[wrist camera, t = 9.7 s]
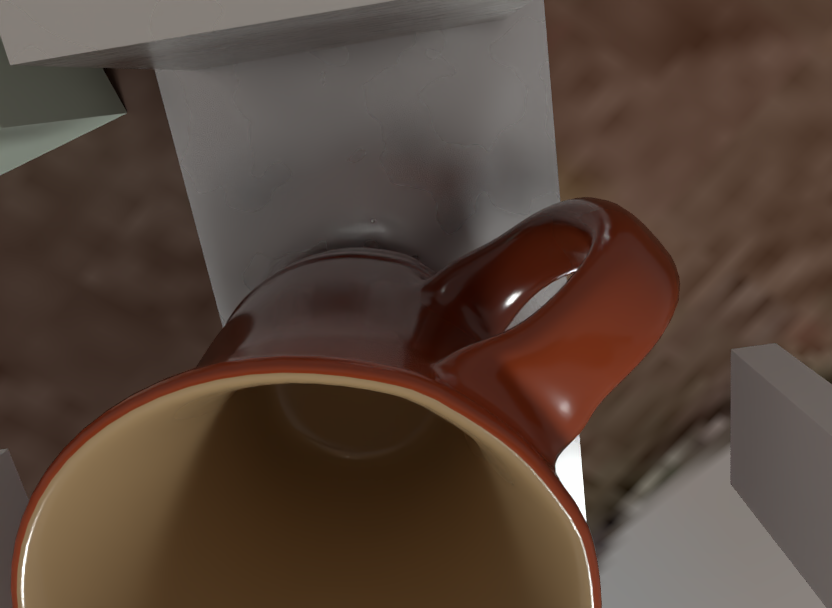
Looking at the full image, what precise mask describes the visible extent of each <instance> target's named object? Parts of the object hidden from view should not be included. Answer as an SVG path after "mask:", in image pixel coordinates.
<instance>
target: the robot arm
mask: <svg viewBox="0 0 832 608" xmlns="http://www.w3.org/2000/svg"><path fill="white" fill-rule="evenodd" d="M731 485H732V486H733V487H734V489H735V490H736V491H737V492H738V494H739V495H740V496H741V498H742V499H743V500H744V502H745V503H746V504H747V506H748V507H749V508H750V509H751V511H752V512H753V513H754V515H755V516H756V517H757V518H758V520H759V521H760V522H761V524H762V525H763V526H764V527H765V529H766V530H767V531H768V533H769V534H770V535H771V536H772V538H773V539H774V540H775V542H776V543H777V544H778V546H779V547H780V548H781V549H782V551H783V552H784V553H785V554H786V556H787V557H788V558H789V560H790V561H791V562H792V564H793V565H794V566H795V567H796V569H797V570H798V571H799V573H800V574H801V575H802V576H803V578H804V579H805V580H806V582H807V583H808V584H809V586H810V587H811V588H812V589H813V591H814V592H815V593H816V595H817V596H818V597H819V598H820V599H821V601H822V602H823V604H824V605H825V606H826V607H827V608H832V384H830V383H829V382H828V381H826V380H825V379H824V378H822V377H821V376H820V375H818V374H817V373H815V372H814V371H813V370H811V369H810V368H809V367H807V366H806V365H805V364H803V363H802V362H801V361H799V360H798V359H796V358H795V357H794V356H792V355H791V354H790V353H788V352H787V351H786V350H784V349H783V348H782V347H780V346H779V345H777V344H776V343H773V344H766V345H759V346H751V347H744V348H737V349H731ZM28 502H29V500H28V497H27V495H26V492H25V490H24V487H23V485H22V482H21V480H20V477H19V475H18V472H17V470H16V467H15V465H14V462H13V460H12V458H11V455H10V453H9V450H8V449H2V450H0V608H12V599H11V588H10V582H11V561H12V555H13V549H14V543H15V538H16V535H17V531H18V528H19V525H20V521H21V518H22V515H23V513H24V511H25V509H26V506H27V504H28Z"/></svg>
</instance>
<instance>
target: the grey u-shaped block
mask: <svg viewBox="0 0 832 608" xmlns="http://www.w3.org/2000/svg"><path fill="white" fill-rule="evenodd" d="M0 36H1V39H2V42H3V45H4V48H5V51H6V54H7V57H8V60H9V63H10V65H21V66H56V67H90V68H124V69H155V73H156V77H157V81H158V84H159V88H160V92H161V96H162V100H163V103H164V107H165V111H166V115H167V118H168V122H169V126H170V130H171V133H172V137H173V141H174V145H175V149H176V152H177V156H178V160H179V164H180V167H181V171H182V175H183V179H184V182H185V186H186V190H187V194H188V198H189V201H190V205H191V209H192V213H193V216H194V220H195V224H196V228H197V231H198V235H199V239H200V243H201V247H202V250H203V254H204V258H205V262H206V265H207V269H208V273H209V277H210V280H211V284H212V288H213V292H214V296H215V299H216V303H217V307H218V311H219V314H220V318H221V322H222V326H223V327H224V326H225V324H226V322H227V320H228V319H229V317H230V316H231V314H232V313H233V311H234V310H235V308H236V307H237V306H238V304H239V303H240V302H241V301H242V300H243V298H244V297H245V296H246V295H247V294H248V293H249V292H251V291H252V290H253V289H254V288H255V287H256V286H257V285H259V284H260V283H261V282H262V281H264V280H265V279H267V278H268V277H270V276H271V275H273V274H274V273H276V272H278V271H280V270H281V269H283V268H285V267H286V266H288V265H290V264H292V263H294V262H296V261H298V260H300V259H303V258H306V257H308V256H311V255H314V254H318V253H322V252H325V251H329V250H334V249H340V248H351V247H367V248H378V249H385V250H391V251H396V252H400V253H404V254H407V255H409V256H411V257H413V258H416V259H417V260H419V261H420V262H422V263H424V264H425V265H427V266H428V267H430V268H431V269H433V270H434V271H436V272H438V271H439V270H441V269H442V268H443V267H445V266H446V265H447V264H449V263H450V262H452V261H454V260H455V259H457V258H459V257H461V256H463V255H465V254H467V253H469V252H471V251H473V250H475V249H477V248H479V247H481V246H482V245H484V244H486V243H488V242H490V241H492V240H493V239H495V238H497V237H498V236H500V235H501V234H503V233H505V232H506V231H508V230H509V229H511V228H512V227H514V226H515V225H517V224H518V223H520V222H521V221H523V220H524V219H526V218H527V217H529V216H531V215H532V214H534V213H536V212H538V211H540V210H542V209H544V208H546V207H548V206H551V205H553V204H556V203H559V202H560V194H559V182H558V169H557V157H556V145H555V133H554V120H553V108H552V96H551V84H550V71H549V59H548V47H547V35H546V22H545V10H544V0H0ZM566 282H567V279H566V276H565V277H562V278H560V279H558V280H556V281H555V282H553V283H551V284H549V285H548V286H546V287H545V288H543V289H542V290H541V291H539V292H538V293H537V294H536V295H535V296H534V297H533V298H532V299H531V300H530V301H529V302H528V303H527V304H526V305H525V306H524V307H523V309H522V310H521V311H520V312H519V314H518V315H517V316H516V318H515V319H514V320H513V322H512V323H511V324H510V326H509V327H508V328H507V330H508V329H510V328H512V327H514V326H516V325H517V324H519V323H520V322H522V321H524V320H525V319H526V318H528V317H529V316H530V315H532V314H533V313H535V312H536V311H537V310H538V309H539V308H540V307H542V306H543V305H544V304H545V303H546V302H547V301H548V300H549V299H550V298H551V297H553V296H554V295H555V294H556V293H557V292H558V291H559V289H560V288H561V287H562V286H563V285H564V284H565V283H566ZM555 468H556V474H557V475H558V477H559V479H560V481H561V483H562V484H563V485H564V487H565V488H566V489H567V491H568V492H569V494H570V495H571V496H572V498H573V499H574V501H575V502H576V504H577V505H578V507H579V509H580V511H581V513H582V515H583V517H584V518H585V520H586V512H585V500H584V487H583V475H582V463H581V451H580V438H579V435H578V436H577V437H576V438H575V439H574V440H573V441H572V442H571V443H570V444H569V445H568V446H567V447H566V448H565V449H564V450H563V451H562V453H561V454H560V455H559V457H558V459H557V461H556V464H555Z"/></svg>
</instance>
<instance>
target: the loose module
mask: <svg viewBox="0 0 832 608" xmlns="http://www.w3.org/2000/svg"><path fill="white" fill-rule="evenodd" d="M126 113H127V111H126V110H125V108H124V106H123V104H122V102H121V101H120V99H119V97H118V95H117V93H116V92H115V90H114V88H113V86H112V85H111V83H110V81H109V79H108V77H107V76H106V74H105V72H104V70H103V68H90V67H56V66H21V65H10V63H9V60H8V57H7V54H6V51H5V48H4V45H3V42H2V39H1V36H0V175H2V174H4V173H6V172H8V171H10V170H12V169H14V168H16V167H18V166H20V165H22V164H24V163H26V162H28V161H30V160H32V159H34V158H36V157H38V156H41V155H43V154H45V153H47V152H49V151H51V150H53V149H55V148H57V147H59V146H61V145H63V144H65V143H67V142H69V141H71V140H73V139H75V138H77V137H79V136H81V135H83V134H85V133H87V132H89V131H92V130H94V129H96V128H98V127H100V126H102V125H104V124H106V123H108V122H110V121H112V120H114V119H116V118H118V117H120V116H122V115H124V114H126Z"/></svg>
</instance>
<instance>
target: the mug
mask: <svg viewBox="0 0 832 608" xmlns="http://www.w3.org/2000/svg"><path fill="white" fill-rule="evenodd" d="M572 273H574V274H573V275H572V276H571V277H570V278H569V280H568V281H567V282H566V283H565V284H564V285H563V286H562V287H561V288H560V289H559V291H558V292H557V293H556V294H555V295H554V296H553V297H551V298H550V299H549V300H548V301H547V302H546V303H545V304H544V305H543V306H542V307H540V308H539V309H538V310H537V311H536V312H535V313H533V314H532V315H530V316H529V317H528V318H526V319H525V320H524V321H522V322H520V323H519V324H517V325H516V326H514V327H512V328H510V329H508V330H507V328H508V327H509V326H510V324H511V323H512V322H513V320H514V319H515V318H516V316H517V315H518V314H519V312H520V311H521V310H522V309H523V307H524V306H525V305H526V304H527V303H528V302H529V301H530V300H531V299H532V298H533V297H534V296H535V295H536V294H537V293H538V292H539V291H541V290H542V289H543V288H545V287H546V286H548V285H549V284H551V283H553V282H555V281H556V280H558V279H560V278H562V277H565V276H567V275H569V274H572ZM679 291H680V280H679V275H678V272H677V268H676V265H675V263H674V261H673V259H672V257H671V255H670V254H669V253H668V252H667V250H666V249H665V248H664V246H663V245H662V244H661V243H660V241H659V240H658V239H657V238H656V237H655V236H654V234H653V233H652V232H651V231H650V230H649V229H648V228H647V227H646V226H645V225H644V224H643V223H642V222H641V221H640V220H639V219H638V218H637V217H635V216H634V215H633V214H632V213H630V212H629V211H627V210H626V209H624V208H622V207H621V206H619V205H617V204H615V203H613V202H610V201H607V200H602V199H597V198H592V197H582V198H575V199H570V200H566V201H562V202H559V203H556V204H553V205H551V206H548V207H546V208H544V209H542V210H540V211H538V212H536V213H534V214H532V215H531V216H529V217H527V218H526V219H524V220H523V221H521V222H520V223H518V224H517V225H515V226H514V227H512V228H511V229H509V230H508V231H506V232H505V233H503V234H501V235H500V236H498V237H497V238H495V239H493V240H492V241H490V242H488V243H486V244H484V245H482V246H481V247H479V248H477V249H475V250H473V251H471V252H469V253H467V254H465V255H463V256H461V257H459V258H457V259H455V260H454V261H452V262H450V263H449V264H447V265H446V266H445V267H443V268H442V269H441V270H439V271H438V272H436V271H434V270H433V269H431V268H430V267H428V266H427V265H425V264H424V263H422V262H420V261H419V260H417V259H416V258H413V257H411V256H409V255H407V254H404V253H400V252H396V251H391V250H385V249H378V248H367V247H351V248H340V249H334V250H329V251H325V252H322V253H318V254H314V255H311V256H308V257H306V258H303V259H300V260H298V261H296V262H294V263H292V264H290V265H288V266H286V267H285V268H283V269H281V270H280V271H278V272H276V273H274V274H273V275H271V276H270V277H268V278H267V279H265V280H264V281H262V282H261V283H260V284H259V285H257V286H256V287H255V288H254V289H253V290H252V291H251V292H249V293H248V294H247V295H246V296H245V297H244V298H243V300H242V301H241V302H240V303H239V304H238V306H237V307H236V308H235V310H234V311H233V313H232V314H231V316H230V317H229V319H228V320H227V322H226V324H225V326H224V327H223V329H222V330H221V331H220V332H219V334H218V335H217V336H216V338H215V339H214V341H213V342H212V343H211V345H210V346H209V348H208V349H207V351H206V352H205V354H204V355H203V357H202V359H201V360H200V362H199V363H198V365H197V366H196V368H193V369H190V370H188V371H185V372H182V373H179V374H177V375H174V376H171V377H168V378H166V379H163V380H161V381H159V382H157V383H155V384H153V385H151V386H149V387H147V388H144V389H142V390H140V391H138V392H136V393H134V394H132V395H131V396H129V397H128V398H126V399H124V400H123V401H121V402H119V403H118V404H116V405H115V406H113V407H111V408H110V409H108V410H107V411H106V412H104V413H103V414H102V415H101V416H99V417H98V418H97V419H95V420H94V421H93V422H92V423H90V424H89V425H88V426H86V427H85V428H84V429H83V430H82V431H81V432H80V433H79V434H78V435H77V436H76V437H75V438H74V439H73V440H71V441H70V442H69V443H68V444H67V445H66V446H65V447H64V448H63V450H62V451H61V452H60V453H59V455H58V456H57V457H56V458H55V460H54V461H53V462H52V463H51V465H50V466H49V467H48V468H47V470H46V472H45V473H44V475H43V477H42V478H41V480H40V481H39V483H38V485H37V486H36V488H35V490H34V491H33V493H32V495H31V498H30V500H29V502H28V504H27V506H26V509H25V511H24V513H23V515H22V518H21V521H20V525H19V528H18V531H17V535H16V538H15V543H14V549H13V555H12V561H11V582H10V588H11V599H12V608H602V601H601V586H600V575H599V568H598V561H597V555H596V551H595V547H594V542H593V538H592V535H591V532H590V529H589V526H588V524H587V522H586V520H585V518H584V517H583V515H582V513H581V511H580V509H579V507H578V505H577V504H576V502H575V501H574V499H573V498H572V496H571V495H570V494H569V492H568V491H567V489H566V488H565V487H564V485H563V484H562V483H561V481H560V479H559V477H558V475H557V474H556V468H555V464H556V461H557V459H558V457H559V455H560V454H561V453H562V451H563V450H564V449H565V448H566V447H567V446H568V445H569V444H570V443H571V442H572V441H573V440H574V439H575V438H576V437H577V436H578V435H579V434H580V432H581V431H582V430H583V428H584V427H585V425H586V424H587V422H588V421H589V419H590V417H591V416H592V414H593V413H594V411H595V410H596V409H597V407H598V406H599V405H600V404H601V402H602V401H603V400H604V399H605V398H606V397H607V396H608V395H609V394H610V393H611V392H612V390H613V389H614V388H615V387H617V386H618V385H619V384H620V383H621V382H622V381H623V380H624V379H625V378H626V377H627V376H628V375H629V374H630V373H631V372H632V371H633V370H634V369H635V368H636V367H637V366H638V365H639V364H640V362H641V361H642V360H643V359H644V358H645V357H646V356H647V355H648V353H649V352H650V351H651V350H652V348H653V347H654V346H655V344H656V343H657V342H658V340H659V339H660V338H661V336H662V335H663V333H664V331H665V329H666V328H667V326H668V324H669V323H670V321H671V318H672V316H673V314H674V311H675V308H676V306H677V303H678V300H679Z"/></svg>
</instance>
